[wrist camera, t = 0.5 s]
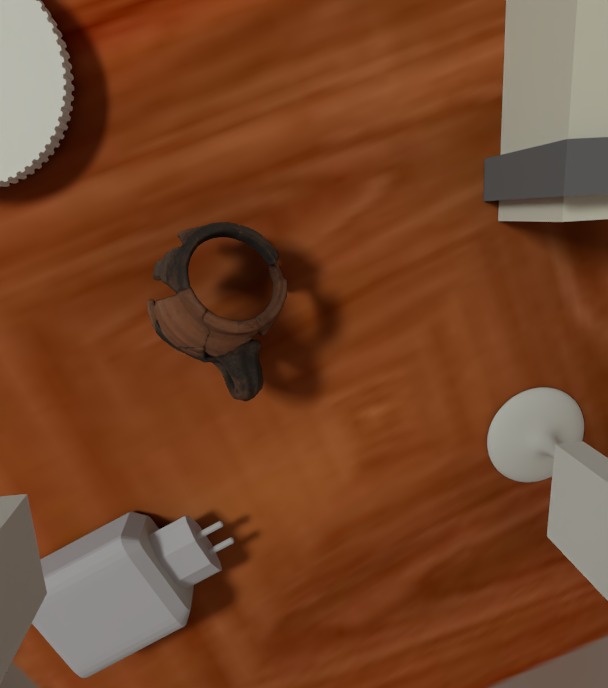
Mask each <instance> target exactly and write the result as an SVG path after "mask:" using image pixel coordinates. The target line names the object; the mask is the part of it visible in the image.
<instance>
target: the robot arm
mask: <svg viewBox="0 0 608 688" xmlns="http://www.w3.org/2000/svg"><path fill="white" fill-rule="evenodd" d="M547 537H548V538H549V539H550V540H551V541H552V542H553V543H554V544H555V545H556V546H557V547H558V549H559V550H560V551H561V552H562V553H563V554H564V555H565V556H566V557H567V558H568V559H569V560H570V561H571V562H572V563H573V564H574V565H575V567H576V568H577V569H578V570H579V571H580V572H581V573H582V574H583V575H584V576H585V577H586V578H587V579H588V580H589V581H590V582H591V583H592V585H593V586H594V587H595V588H596V589H597V590H598V591H599V592H600V593H601V594H602V595H603V596H604V597H605V598H606V599H607V600H608V458H607V457H605V456H604V455H602V454H601V453H599V452H598V451H596V450H595V449H593V448H592V447H590V446H589V445H588V444H586V443H585V442H583V441H582V442H571V443H561V444H555V453H554V464H553V475H552V486H551V497H550V508H549V519H548V529H547ZM46 594H47V591H46V586H45V581H44V576H43V571H42V566H41V561H40V556H39V551H38V546H37V541H36V536H35V531H34V526H33V521H32V516H31V511H30V506H29V501H28V496H27V494H22V495H12V496H1V497H0V683H1V682H2V680H3V678H4V676H5V674H6V672H7V670H8V668H9V666H10V664H11V662H12V660H13V658H14V656H15V654H16V652H17V651H18V649H19V647H20V645H21V643H22V641H23V639H24V637H25V635H26V633H27V631H28V629H29V627H30V625H31V623H32V621H33V620H34V618H35V616H36V614H37V612H38V610H39V608H40V606H41V604H42V602H43V600H44V598H45V596H46Z"/></svg>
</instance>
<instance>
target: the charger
mask: <svg viewBox="0 0 608 688" xmlns="http://www.w3.org/2000/svg"><path fill="white" fill-rule="evenodd" d="M221 527H223V522H222V521H218V522H217V523H215V524H213V525H211V526H209V527H207V528H205V529H203V530H202V529H201V527H200V526H199V525H198V523H196V522H195V521H194V520H193V519H192V518H190V517H189V516H184V517H182V518H180V519H178V520H176V521H175V522H173V523H171V524H169V525H167V526H165V527H163V528H161V529H159V528H158V527H157V526H156V524H155V523H154V521H153V520H152V519H151V518H150V517H149V516H147V515H143V514H140V513H136V512H132V511H131V512H129V513H127V514H125V515H123V516H121V517H119V518H117V519H116V520H114V521H112V522H110V523H108V524H106V525H104V526H102V527H101V528H99V529H97V530H95V531H93V532H91V533H89V534H87V535H85V536H84V537H82V538H80V539H78V540H76V541H74V542H72V543H70V544H69V545H67V546H65V547H63V548H61V549H59V550H57V551H55V552H54V553H52V554H50V555H48V556H46V557H44V558H42V559H40V561H41V566H42V571H43V576H44V581H45V586H46V591H47V594H46V596H45V598H44V600H43V602H42V604H41V606H40V608H39V610H38V612H37V614H36V616H35V618H34V620H33V621H32V624H33V625H34V626H35V627H36V628H37V630H38V631H39V632H40V633H41V634H42V635H43V636H44V638H45V639H46V640H47V641H48V642H49V643H50V645H51V646H52V647H53V648H54V649H55V650H56V652H57V653H58V654H59V655H60V656H61V657H62V659H63V660H64V661H65V662H66V663H67V664H68V666H69V667H70V668H71V669H72V670H73V671H74V672H75V673H76V674H77V675H78V676H80V677H82V678H87V677H89V676H91V675H93V674H95V673H97V672H99V671H101V670H102V669H104V668H106V667H108V666H110V665H112V664H114V663H116V662H118V661H120V660H121V659H123V658H125V657H127V656H129V655H131V654H133V653H135V652H137V651H139V650H140V649H142V648H144V647H146V646H148V645H150V644H152V643H154V642H156V641H157V640H159V639H161V638H163V637H165V636H167V635H169V634H171V633H173V632H175V631H176V630H178V629H180V628H182V627H184V626H186V624H187V620H188V617H189V613H190V610H191V604H192V596H193V588H194V585H195V584H197V583H198V582H200V581H202V580H204V579H206V578H208V577H210V576H212V575H214V574H216V573H217V572H219V571H221V570H222V567H221V564H220V561H219V558H218V556H217V554H216V552H218V551H220V550H222V549H223V548H225V547H227V546H229V545H231V544H233V543H234V539H233V538H232V537H230V538H228V539H226V540H225V541H223V542H221V543H219V544H217V545H215V546H213V545H212V544H211V542H210V541H209V539H208V538H207V536H206V535H208V534H210V533H212V532H214V531H216V530H218V529H219V528H221Z"/></svg>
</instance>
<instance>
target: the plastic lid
mask: <svg viewBox="0 0 608 688" xmlns="http://www.w3.org/2000/svg"><path fill="white" fill-rule="evenodd" d="M56 27H57V23H56V22H55V21H54V19H53V18H52V17H51V13H50V12H49V11H48V9H47V8H46V7H45V5H44V3H43V2H42V1H41V0H0V186H3V187H8V186H10V185H9V183H14V184H16V183H18V179H23V180H24V179H26V178H27V176H26V175H27V174H31V175H32V174H33V173H35V172H34V169H36V168H37V169H40V168H41V167H42V165H41V164H42V163H43V162H47V161H48V160H49V159H48V156H49V155H53V154H54V153H55V152H54V148H55V147H57V148H58V147H59V145H60V144H59V140H60V139H63V138H64V135H63V132H64V130H67V129H68V126H67V125H66V123H67V121H70V119H71V117H70V116H69V112H70V111H72V110H73V107H72V106H71V101H74V96H72V91H74V86H73V85H72V84H71V81H72V80H74V77H73V75H72V74H71V73H70V70H71V69H72V65H71V64H70V63H69V62H68V59H69V58H70V56H69V53H68V52H67V51H66V50H65V48H66V47H67V46H66V43H65V42H64V41H63V40H62V39H61V37H62V33H61V32H60V31H59V30H58V29H57V28H56Z"/></svg>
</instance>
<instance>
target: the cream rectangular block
mask: <svg viewBox="0 0 608 688" xmlns="http://www.w3.org/2000/svg"><path fill="white" fill-rule="evenodd" d="M496 200H499V210H498V221H530V222H571V221H586V220H601V219H608V0H506V19H505V46H504V74H503V101H502V128H501V155H498V156H494V157H490V158H486V159H485V167H484V201H496Z"/></svg>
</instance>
